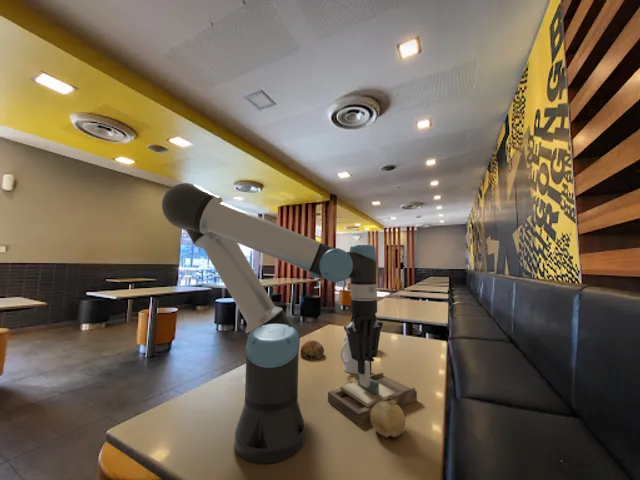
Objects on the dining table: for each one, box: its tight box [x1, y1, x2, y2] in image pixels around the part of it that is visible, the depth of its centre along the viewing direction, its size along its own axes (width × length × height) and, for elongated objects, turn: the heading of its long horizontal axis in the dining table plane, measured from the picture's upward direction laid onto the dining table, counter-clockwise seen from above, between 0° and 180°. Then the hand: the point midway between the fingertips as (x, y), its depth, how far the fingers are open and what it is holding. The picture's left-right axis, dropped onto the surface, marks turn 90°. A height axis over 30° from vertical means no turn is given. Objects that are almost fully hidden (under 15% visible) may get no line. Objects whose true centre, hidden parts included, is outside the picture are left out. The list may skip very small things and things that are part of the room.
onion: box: [370, 396, 406, 439], centre depth 62 cm, size 8×8×7 cm
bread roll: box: [299, 339, 325, 360], centre depth 112 cm, size 10×10×8 cm
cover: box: [340, 374, 397, 407], centre depth 75 cm, size 11×11×4 cm
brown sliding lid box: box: [327, 372, 418, 426], centre depth 75 cm, size 22×13×4 cm, turn 123°
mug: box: [340, 333, 360, 375], centre depth 97 cm, size 12×8×12 cm
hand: (364, 384), depth 74 cm, fingers closed
